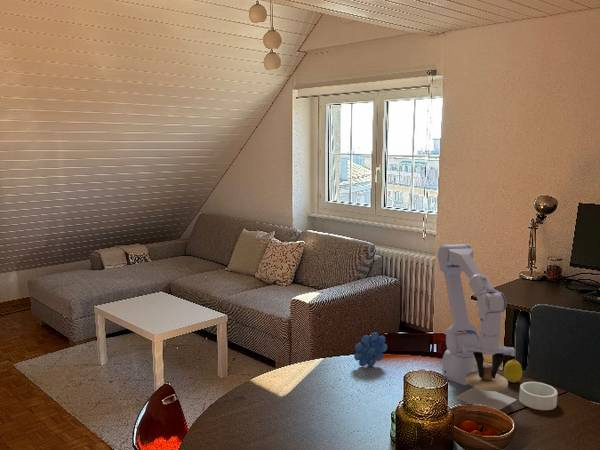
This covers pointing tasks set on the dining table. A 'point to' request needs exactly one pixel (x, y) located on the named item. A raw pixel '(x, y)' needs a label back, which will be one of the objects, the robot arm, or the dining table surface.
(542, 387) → the bowl
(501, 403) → the mat
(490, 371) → the lid
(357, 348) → the grapes
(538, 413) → the dining table surface
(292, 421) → the dining table surface
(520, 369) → the lemon
